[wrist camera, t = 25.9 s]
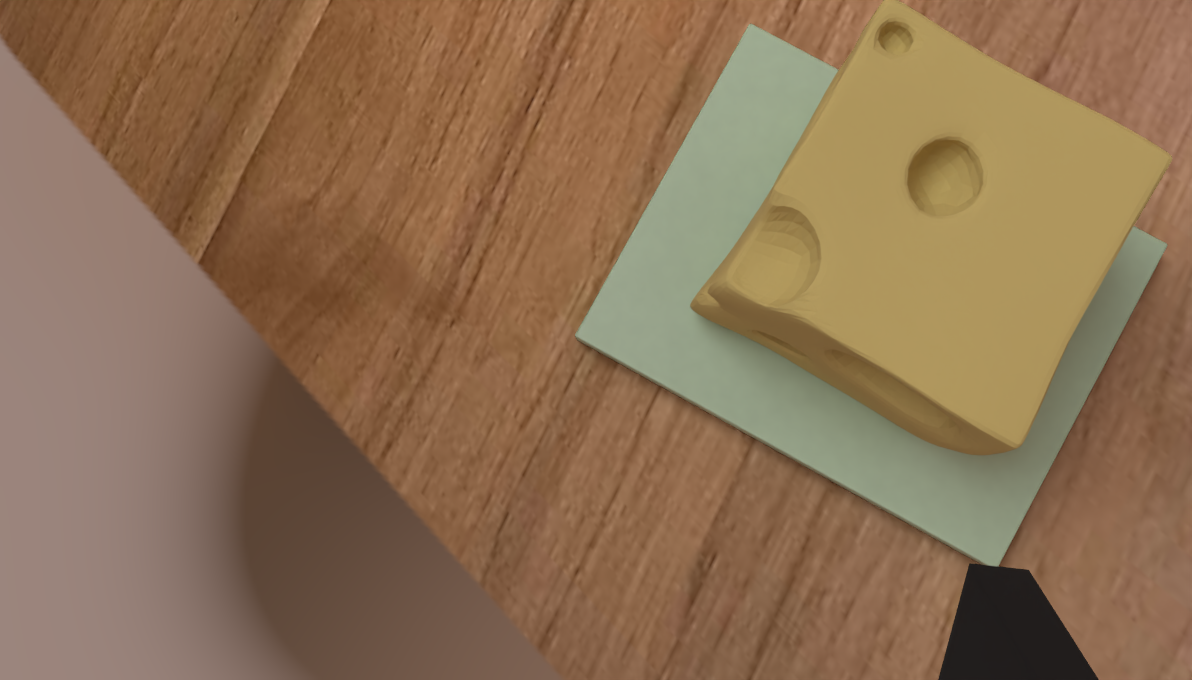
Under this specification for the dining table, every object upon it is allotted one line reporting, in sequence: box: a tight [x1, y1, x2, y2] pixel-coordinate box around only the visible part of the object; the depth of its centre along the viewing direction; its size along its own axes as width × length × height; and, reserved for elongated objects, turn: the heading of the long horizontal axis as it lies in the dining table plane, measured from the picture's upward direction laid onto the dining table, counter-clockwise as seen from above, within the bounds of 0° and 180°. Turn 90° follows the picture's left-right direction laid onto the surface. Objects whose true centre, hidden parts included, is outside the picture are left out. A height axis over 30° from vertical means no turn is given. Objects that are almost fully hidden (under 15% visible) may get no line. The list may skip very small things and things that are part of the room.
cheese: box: [690, 0, 1172, 455], centre depth 36 cm, size 10×11×10 cm
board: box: [575, 24, 1167, 566], centre depth 42 cm, size 18×14×2 cm
